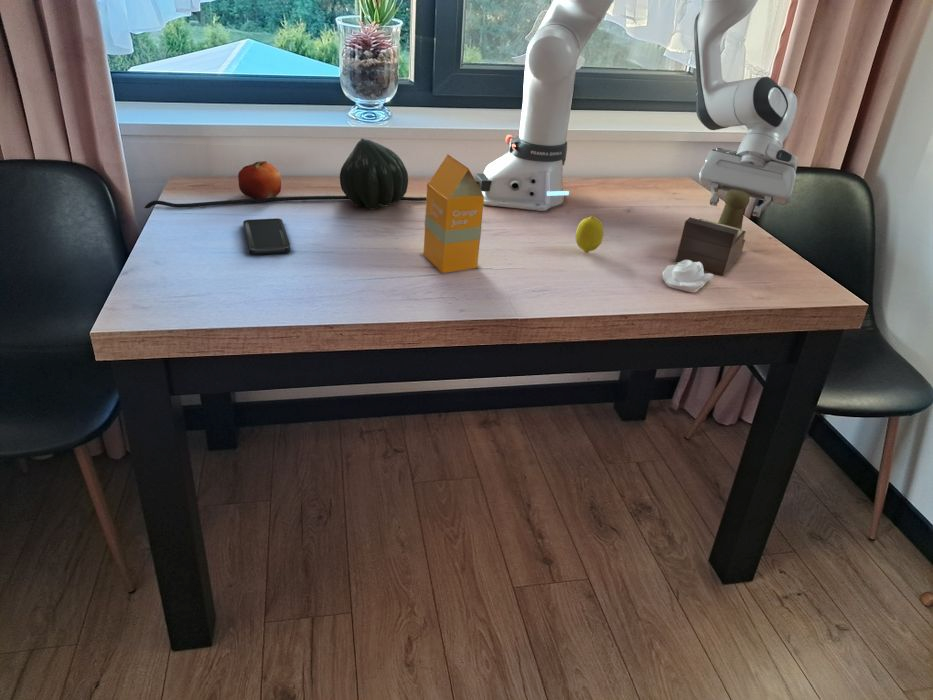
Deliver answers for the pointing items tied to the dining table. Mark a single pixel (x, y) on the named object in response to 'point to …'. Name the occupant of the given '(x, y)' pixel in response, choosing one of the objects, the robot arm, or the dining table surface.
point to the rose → (686, 276)
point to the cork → (734, 208)
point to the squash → (373, 175)
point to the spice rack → (710, 244)
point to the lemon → (589, 234)
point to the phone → (266, 236)
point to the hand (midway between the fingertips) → (734, 209)
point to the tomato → (260, 180)
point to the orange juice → (453, 218)
